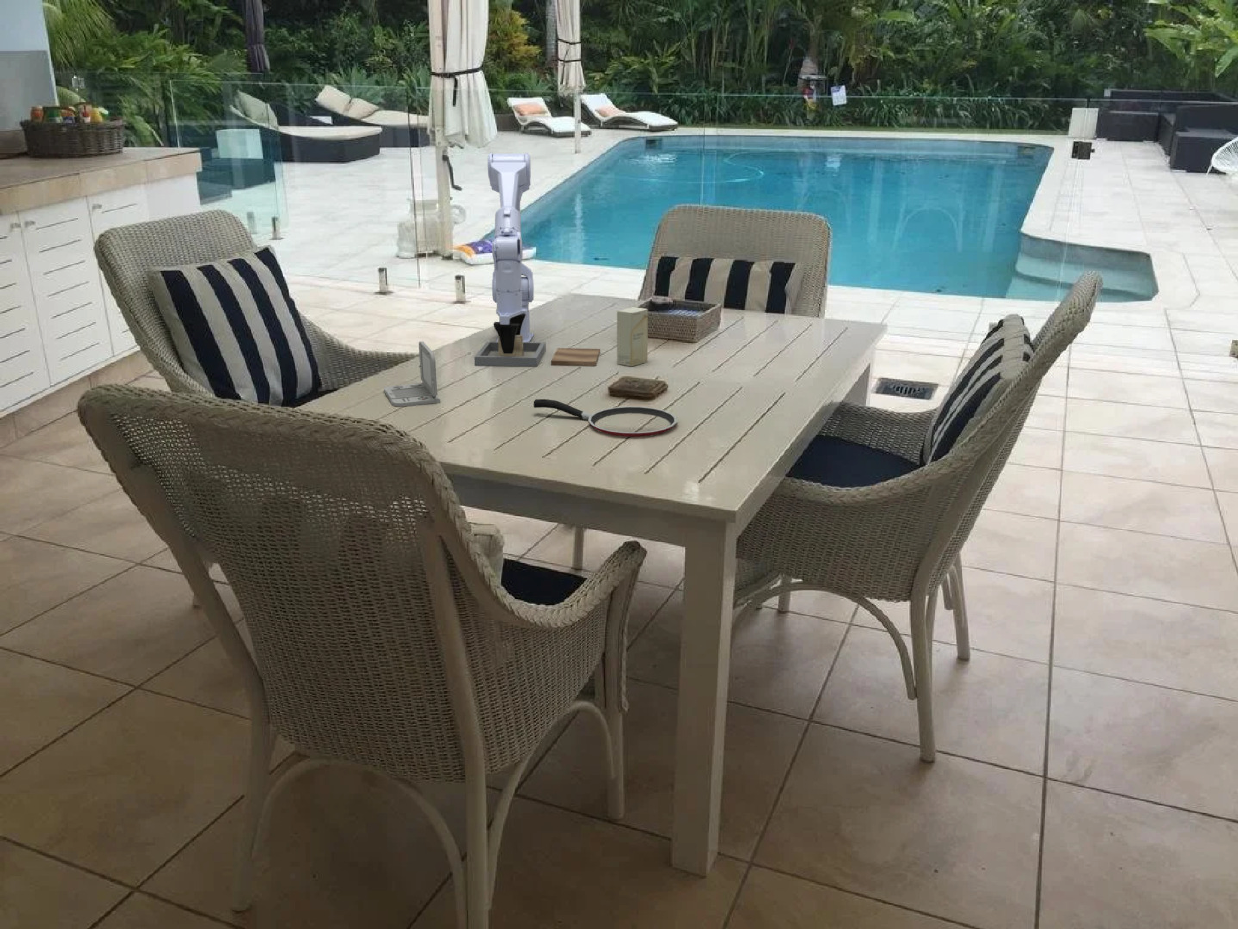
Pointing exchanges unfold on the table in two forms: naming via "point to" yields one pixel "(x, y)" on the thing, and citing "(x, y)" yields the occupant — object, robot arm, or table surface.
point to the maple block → (517, 347)
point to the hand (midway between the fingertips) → (510, 349)
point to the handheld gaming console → (417, 391)
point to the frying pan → (608, 412)
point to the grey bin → (485, 360)
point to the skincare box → (632, 336)
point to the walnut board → (575, 357)
